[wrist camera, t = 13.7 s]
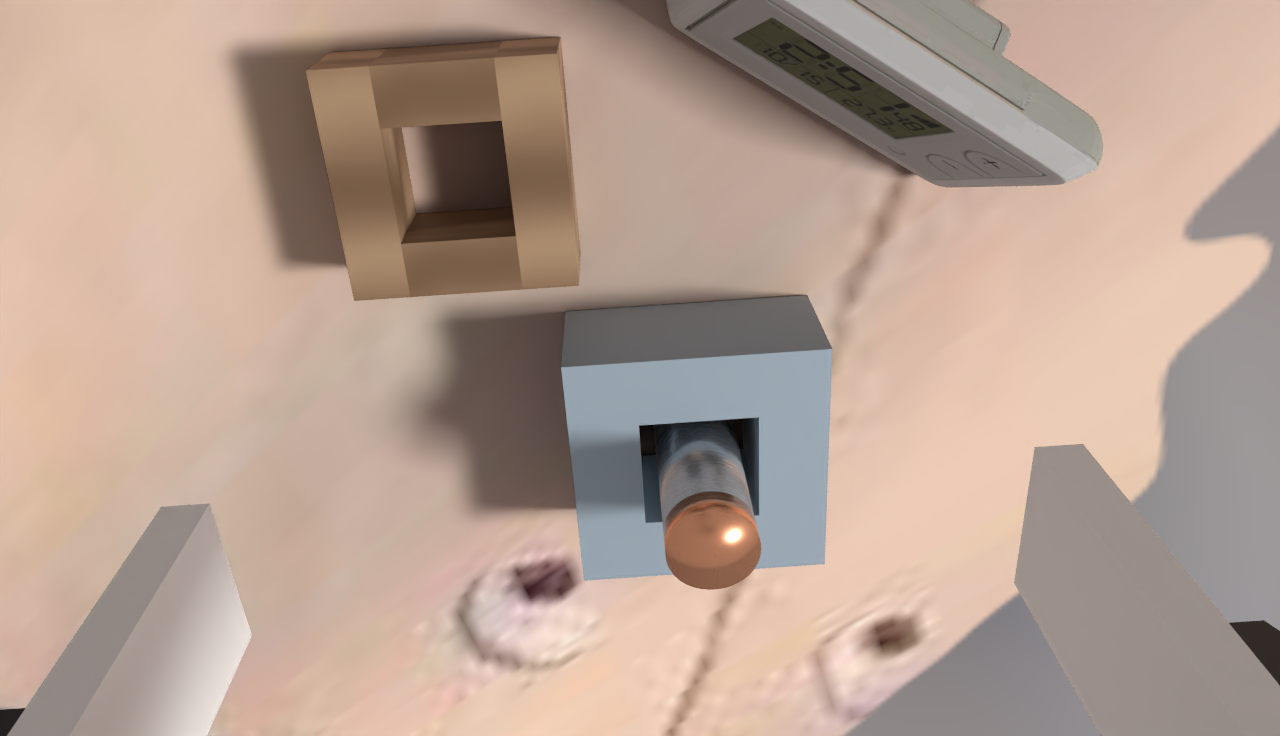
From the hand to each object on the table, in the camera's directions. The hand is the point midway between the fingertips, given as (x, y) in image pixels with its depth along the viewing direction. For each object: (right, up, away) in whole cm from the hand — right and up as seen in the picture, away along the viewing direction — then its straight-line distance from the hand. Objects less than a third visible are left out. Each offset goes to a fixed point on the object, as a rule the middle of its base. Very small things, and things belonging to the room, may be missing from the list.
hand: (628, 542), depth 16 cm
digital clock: (+9, +17, +28) cm, 34 cm away
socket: (+3, +1, +35) cm, 36 cm away
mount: (-8, +12, +29) cm, 33 cm away
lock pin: (+3, +1, +36) cm, 36 cm away
